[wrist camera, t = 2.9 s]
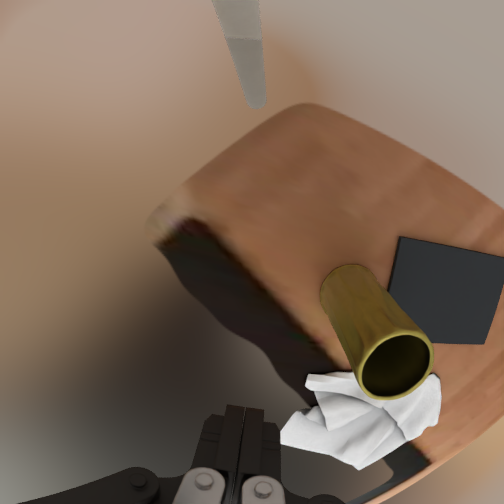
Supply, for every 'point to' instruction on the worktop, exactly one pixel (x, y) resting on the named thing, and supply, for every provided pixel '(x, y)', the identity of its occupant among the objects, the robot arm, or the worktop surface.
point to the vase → (376, 334)
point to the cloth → (360, 419)
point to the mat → (447, 289)
